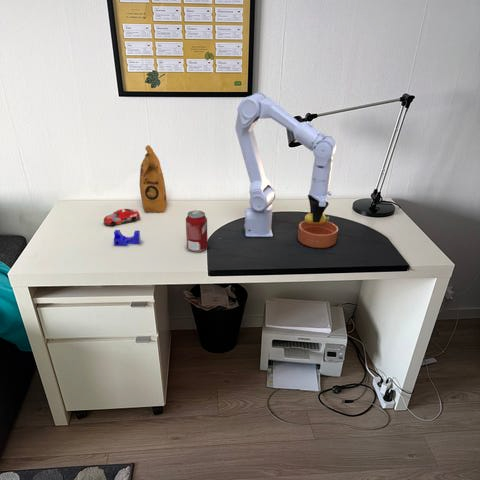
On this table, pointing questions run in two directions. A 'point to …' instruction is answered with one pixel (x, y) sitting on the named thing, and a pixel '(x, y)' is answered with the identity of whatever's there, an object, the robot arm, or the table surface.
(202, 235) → the soda can
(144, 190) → the coffee package
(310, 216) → the yellow squeeze bottle
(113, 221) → the race car
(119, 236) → the cable holder
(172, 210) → the table surface
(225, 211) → the table surface
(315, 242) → the basin
